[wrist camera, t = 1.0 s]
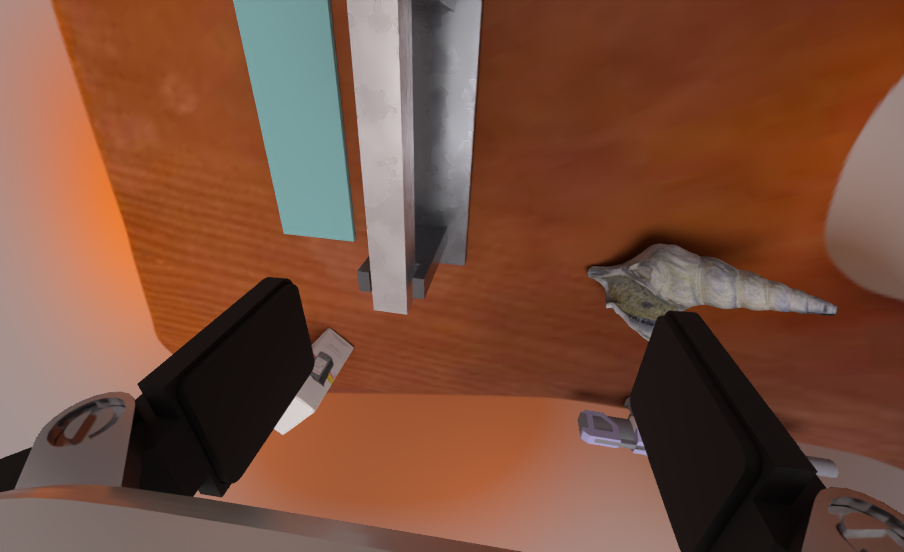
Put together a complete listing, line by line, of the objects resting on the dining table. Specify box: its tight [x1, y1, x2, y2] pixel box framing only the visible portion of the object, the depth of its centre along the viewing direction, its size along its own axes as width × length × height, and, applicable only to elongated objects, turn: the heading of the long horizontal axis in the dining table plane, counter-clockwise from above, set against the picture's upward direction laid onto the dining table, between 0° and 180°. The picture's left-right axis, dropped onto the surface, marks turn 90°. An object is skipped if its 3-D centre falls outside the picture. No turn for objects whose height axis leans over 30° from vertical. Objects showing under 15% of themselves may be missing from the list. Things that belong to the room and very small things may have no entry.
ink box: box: [274, 328, 354, 435], centre depth 50 cm, size 9×5×12 cm, turn 136°
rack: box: [357, 0, 484, 299], centre depth 31 cm, size 28×10×12 cm, turn 178°
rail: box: [347, 0, 415, 314], centre depth 27 cm, size 26×3×3 cm, turn 178°
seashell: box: [587, 243, 838, 341], centre depth 35 cm, size 10×17×10 cm, turn 88°
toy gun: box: [578, 397, 838, 478], centre depth 45 cm, size 7×28×8 cm, turn 88°
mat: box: [233, 0, 356, 242], centre depth 37 cm, size 30×9×1 cm, turn 178°
